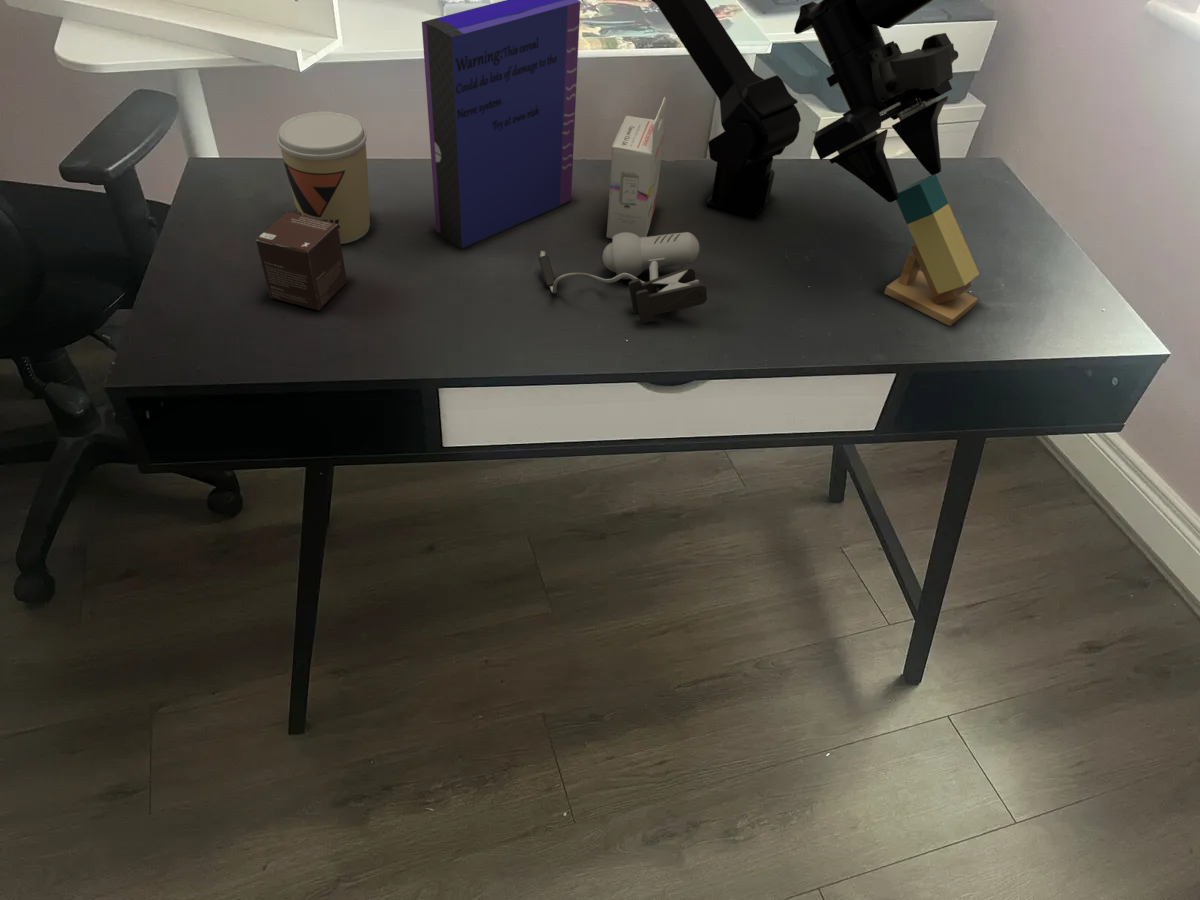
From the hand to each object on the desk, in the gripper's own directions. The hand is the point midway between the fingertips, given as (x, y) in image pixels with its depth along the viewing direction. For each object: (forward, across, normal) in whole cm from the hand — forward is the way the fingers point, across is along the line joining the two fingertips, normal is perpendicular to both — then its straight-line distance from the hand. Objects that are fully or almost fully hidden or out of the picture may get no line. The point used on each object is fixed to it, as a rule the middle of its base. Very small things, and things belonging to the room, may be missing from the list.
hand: (916, 186), depth 98 cm
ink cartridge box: (-11, -14, +28) cm, 33 cm away
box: (-21, -51, +37) cm, 66 cm away
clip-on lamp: (-5, -26, +22) cm, 34 cm away
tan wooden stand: (+12, 0, +4) cm, 13 cm away
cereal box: (-19, -25, +36) cm, 47 cm away
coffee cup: (-27, -41, +43) cm, 66 cm away
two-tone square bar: (+6, 0, 0) cm, 6 cm away
